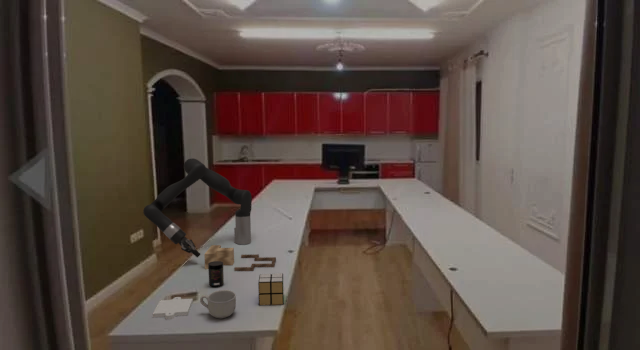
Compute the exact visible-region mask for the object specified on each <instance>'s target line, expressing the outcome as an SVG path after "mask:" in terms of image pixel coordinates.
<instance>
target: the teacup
mask: <svg viewBox="0 0 640 350" xmlns="http://www.w3.org/2000/svg"><path fill="white" fill-rule="evenodd" d="M236 298H237V294H236V292H234V291H233V290H229V289H228V290H227V289H222V290H221V289H220V290H216V291H213V292H211V293H209V294H208V295H207V294H203V295H201V297H200V300H199V301H200V303H201V305H202V306H204V308H206V309H207V310H208V313H209V314H210V315H211V317H214V318H216V319H226V318H229V317H230V316H231V315H232V314H233V313H235V311H236V307H237V302H236V301H237V299H236ZM204 299H206V300H207V302H205V301H204Z"/></svg>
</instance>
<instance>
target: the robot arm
mask: <svg viewBox="0 0 640 350" xmlns="http://www.w3.org/2000/svg"><path fill="white" fill-rule="evenodd" d="M183 163H184V164H183V169H184V172H185V173H186V174H187V175H186V176H185V177H184V178H183V179H181V180H179V181H177V182H175V183H172V184H170V185H168V186H167V187H165V189H163V190H162V191H161V192H159V194H158V195H157V196H156V198H155V199H154V200H153V201H152V202H151V203H150V204H147V205H145V206H144V208H143V215H144V216H145V217H146V218H147V219H148V220H149V221H150V222H152V224H154V225H155V226H156V227H157V228H158V229H159V230H160V231H161V232H162V233H164V235H165V236H166V237H167V238H168V240H170V241H171V242H172V243H173V244H174V245H177V244H179V246H180V247H181V250H182V251H184V252H186V253H188V254H192V255H194V256H195V258H199V257H200V256H201V252H199V251H198V250H197V248H196V245H195V243H194V242H193V240H192V239H189V238H187V237H186V236H187V233H186V232H185V231H184V230H183V229H182V228H181V227H180V226H179V225H178V224H176V223H175V222H174V221H172V220H171V219H170V218H169V217H167V216H166V215H165V214H164V213H163V210H164V209H165V208H166V207H168V205H169V204H171V203H172V202H173V201H174V200H175V199H176V197H178V196H179V195H180V194H181V193H183V192H184V191H185V190H186V189H188V188H190V187H191V186H192V185H194V184H195V183H196V182H198V181H201V182H203V183H204V184H205V185H206V186H208V187H209V188H210V189H212V190H214V191H215V192H216V193H219V194H221V195H222V196H225V197H226V198H227V199H229V200H230V201H231V202H233V204H236V205H240V209H238V210H235V212H234V214H235V215H234V216H235V217H234V218H235V219H234V220H235V226H234V228H233V230H234V234H233V235H234V243H235V244H237V245H248V244H251V243H252V231H251V230H252V227H251V226H252V225H251V224H252V223H251V222H252V221H251V212H252V203H253V202H252V199H253V198H252V193H251V191H249V190H248V189H240V188H236V187H234V186H232V185H231V183H230V180H229V179H227V178H226V177H225V176H223V175H221V174H220V173H218V172H216V171H214V170H212V169H209V168H208V167H207V166H206V165H205V164H204V163H203V162H201V161H200V160H199V159H197V158H192V157H191V158H188V159H186V160H185V161H184V162H183Z"/></svg>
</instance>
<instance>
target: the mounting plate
mask: <svg viewBox="0 0 640 350" xmlns="http://www.w3.org/2000/svg"><path fill="white" fill-rule="evenodd" d="M193 303H194V298H182V297H181V296H176V297H173V298H172V299H162V300H159V301H158V303H157V306H156V307H155V308H154V311H153V313H152V318H165V320H173V319H175V317H181V316H182V317H184V316H189V313H190V310H191V308H192V306H193Z"/></svg>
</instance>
